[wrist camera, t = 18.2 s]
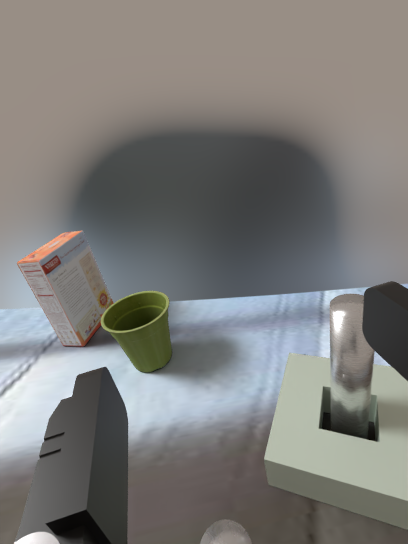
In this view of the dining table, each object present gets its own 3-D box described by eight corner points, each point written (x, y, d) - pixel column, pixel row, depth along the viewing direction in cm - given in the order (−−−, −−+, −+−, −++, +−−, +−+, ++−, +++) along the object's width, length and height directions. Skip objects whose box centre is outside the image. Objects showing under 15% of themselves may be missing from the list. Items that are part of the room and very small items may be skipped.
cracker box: (96, 308, 78) (62, 231, 68) (116, 308, 76) (84, 229, 66) (60, 347, 66) (14, 261, 56) (84, 348, 64) (39, 259, 54)
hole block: (442, 541, 28) (452, 513, 26) (268, 484, 35) (264, 459, 33) (415, 397, 40) (420, 370, 38) (291, 376, 47) (289, 352, 45)
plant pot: (186, 333, 62) (172, 285, 57) (181, 379, 51) (163, 326, 46) (130, 341, 63) (112, 295, 58) (114, 387, 53) (90, 337, 48)
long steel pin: (367, 459, 35) (379, 321, 26) (329, 450, 37) (328, 317, 28) (366, 428, 38) (376, 295, 29) (331, 420, 40) (331, 292, 31)
